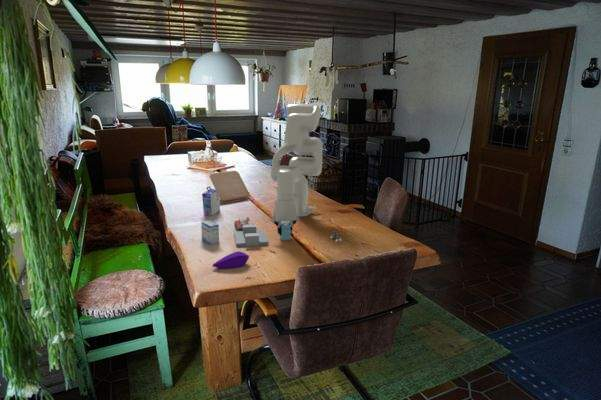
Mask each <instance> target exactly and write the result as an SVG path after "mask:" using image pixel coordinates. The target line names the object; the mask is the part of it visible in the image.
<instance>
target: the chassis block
mask: <svg viewBox="0 0 601 400" xmlns="http://www.w3.org/2000/svg"><path fill="white" fill-rule="evenodd" d="M233 235H234V240H235V241H234V242H235V246H236V247H237V248H238V247H239V248H240V247H253V246H254V247H257V246H258V247H259V246H268V245H269V241H268V237H267V235H266V232H265V230H264V229H257V225H256V223H255V224H253V223H252V224H250V225H243V231H236V230H235V231H233Z"/></svg>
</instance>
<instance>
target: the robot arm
mask: <svg viewBox="0 0 601 400" xmlns="http://www.w3.org/2000/svg"><path fill="white" fill-rule="evenodd" d="M285 112H286V123H285V132H284V140H283V144H282V145H281V146H280V147H279V148H278V149H277V150H276V151H275V153H274V155H273V158H272V161H271V170H270V178H271V179H272V180H273V181H275V182H277V193H276V194H277V196H276V197H277V198H275V201H274V207H273V215H272V216H271V218H270V219H269V220H270V222H271V223H273V224H274V225H276V227H277V233H278V234H279V237H280V236H281V222H282V221H288V222H289V224H290V225H291V231H292V232H290V236H292V233H293V227H294V225H296V223H298V222H299V221H300V220H301V218H302V217H308V216H309V215H310V214H311V211H316V209H317V207H316V206H312V205H308V198H309V197H308V196H309V195H308V194H309V182H308V180H307V178H306V176H313V177H317V176H320V175H321V173H322V171H323V170H322V169H323V152H324V151H323V147H324V146H323V140H322V139H321V138H319V137H314V136H310V135H309V134H310V133H309V132H311V133H312V132H315V131H316V130H317V128H318V125H319V121H320V119H321V113H322V110H321V108H320V106H319V105H317V104H309V103H308V104H307V103H305V104H304V103H290V104H288V105H287V106H286V108H285ZM291 152H293V154H295V155H300V156H294V157H292V158H290V160H289V161H288V162H289V163H288V165H279V164H280V161H281V159H282V158H283V156H285V155H287V154H289V153H291ZM305 156H306V157H305ZM307 156H312V157H307ZM300 217H301V218H300Z"/></svg>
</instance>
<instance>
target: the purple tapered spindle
mask: <svg viewBox="0 0 601 400" xmlns="http://www.w3.org/2000/svg"><path fill="white" fill-rule="evenodd" d="M249 258H250V255H249V254H247V253H245V252H242V251H235V252H232V253H229V254H228V255H226V256H224V257H222V258H220V259H219V260H217V261H216V262H214V263H213V264H212V265H211V266H212V267H213V268H218V269H235V268H240V267H243V266H245V265H246V264H247V262H248V260H249Z"/></svg>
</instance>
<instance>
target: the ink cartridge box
mask: <svg viewBox="0 0 601 400" xmlns="http://www.w3.org/2000/svg"><path fill="white" fill-rule="evenodd" d="M201 195H202V197H201V198H202V208H203V209H202V210H203V215H204V216H209V217H211V216H214V215H215V214H217V213H218V212H221V205H220V202H219V190H216V189H215V188H212V187H211V186H210V185H209V186H207V187H206V191H204V192H202V194H201Z"/></svg>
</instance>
